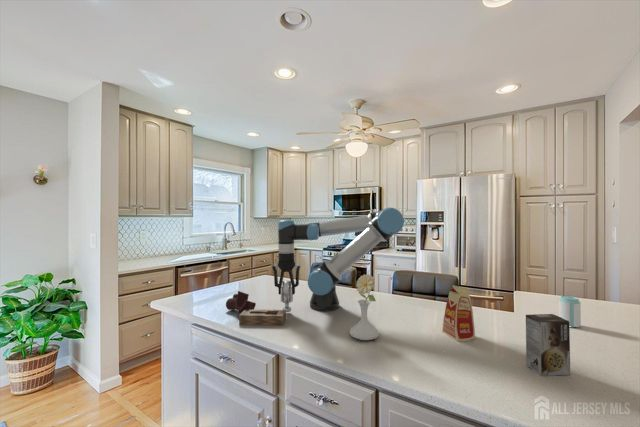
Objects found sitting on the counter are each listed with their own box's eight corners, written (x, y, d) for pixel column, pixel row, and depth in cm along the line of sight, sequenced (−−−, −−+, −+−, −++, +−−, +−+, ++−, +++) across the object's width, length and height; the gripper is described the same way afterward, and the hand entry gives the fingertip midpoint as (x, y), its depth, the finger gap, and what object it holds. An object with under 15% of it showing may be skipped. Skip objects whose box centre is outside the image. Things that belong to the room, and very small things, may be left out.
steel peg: (291, 309, 142) (291, 280, 142) (290, 312, 138) (290, 282, 138) (283, 309, 142) (283, 280, 142) (282, 312, 138) (281, 282, 138)
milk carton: (457, 341, 109) (457, 288, 109) (441, 332, 118) (440, 282, 118) (477, 338, 112) (477, 286, 112) (459, 329, 120) (459, 281, 121)
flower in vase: (344, 333, 117) (344, 270, 117) (369, 329, 121) (369, 269, 121) (360, 347, 104) (360, 277, 105) (387, 342, 108) (387, 275, 109)
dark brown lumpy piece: (245, 311, 132) (250, 289, 137) (222, 313, 141) (228, 292, 146) (255, 314, 136) (259, 292, 141) (233, 315, 146) (237, 295, 150)
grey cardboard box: (553, 364, 92) (552, 313, 93) (571, 375, 86) (571, 320, 86) (524, 365, 92) (524, 313, 92) (541, 376, 86) (540, 321, 86)
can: (557, 321, 130) (557, 294, 130) (578, 324, 126) (578, 296, 127) (560, 326, 124) (560, 298, 124) (582, 329, 120) (582, 300, 120)
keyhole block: (285, 318, 133) (285, 309, 133) (282, 325, 125) (282, 316, 125) (244, 318, 134) (244, 309, 134) (239, 324, 126) (239, 315, 126)
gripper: (304, 251, 144) (305, 298, 144) (270, 251, 145) (271, 298, 144) (303, 253, 136) (303, 303, 136) (267, 253, 137) (267, 303, 137)
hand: (286, 300), depth 140 cm, fingers closed on steel peg, 4 cm apart
